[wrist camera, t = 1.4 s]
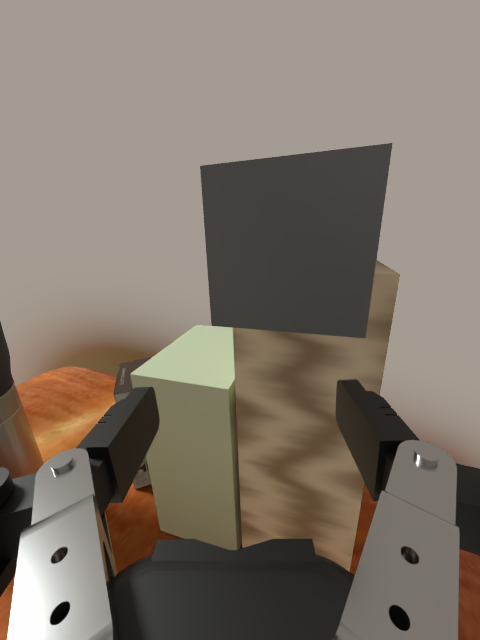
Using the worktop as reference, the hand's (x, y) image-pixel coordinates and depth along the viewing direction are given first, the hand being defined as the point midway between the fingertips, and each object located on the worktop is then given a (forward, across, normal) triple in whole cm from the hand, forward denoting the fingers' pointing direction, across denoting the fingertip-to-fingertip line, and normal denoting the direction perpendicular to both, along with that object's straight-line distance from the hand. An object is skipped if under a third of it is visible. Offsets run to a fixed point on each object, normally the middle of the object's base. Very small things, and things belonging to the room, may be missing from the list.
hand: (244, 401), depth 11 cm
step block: (+18, +6, +27) cm, 33 cm away
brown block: (+15, -5, +27) cm, 32 cm away
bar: (+9, -5, -5) cm, 11 cm away
